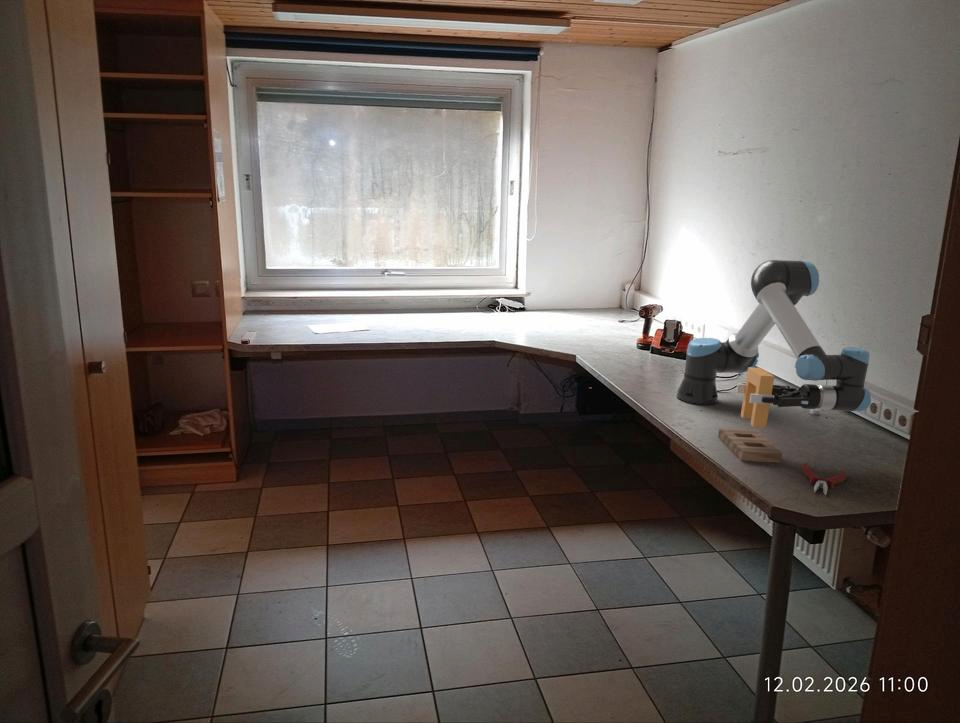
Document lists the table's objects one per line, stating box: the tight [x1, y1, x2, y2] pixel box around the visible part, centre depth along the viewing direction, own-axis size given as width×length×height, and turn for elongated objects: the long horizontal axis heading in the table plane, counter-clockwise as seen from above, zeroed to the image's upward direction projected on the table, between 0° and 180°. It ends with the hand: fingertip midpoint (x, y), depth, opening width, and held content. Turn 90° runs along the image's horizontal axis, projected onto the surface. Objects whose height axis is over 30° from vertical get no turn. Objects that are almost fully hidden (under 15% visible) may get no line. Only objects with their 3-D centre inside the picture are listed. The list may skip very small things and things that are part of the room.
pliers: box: [800, 462, 846, 496], centre depth 191 cm, size 12×20×3 cm, turn 152°
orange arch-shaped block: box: [740, 367, 775, 428], centre depth 210 cm, size 10×4×16 cm, turn 0°
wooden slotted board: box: [717, 427, 783, 464], centre depth 214 cm, size 20×12×3 cm, turn 0°
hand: (743, 393), depth 209 cm, fingers closed on orange arch-shaped block, 10 cm apart
